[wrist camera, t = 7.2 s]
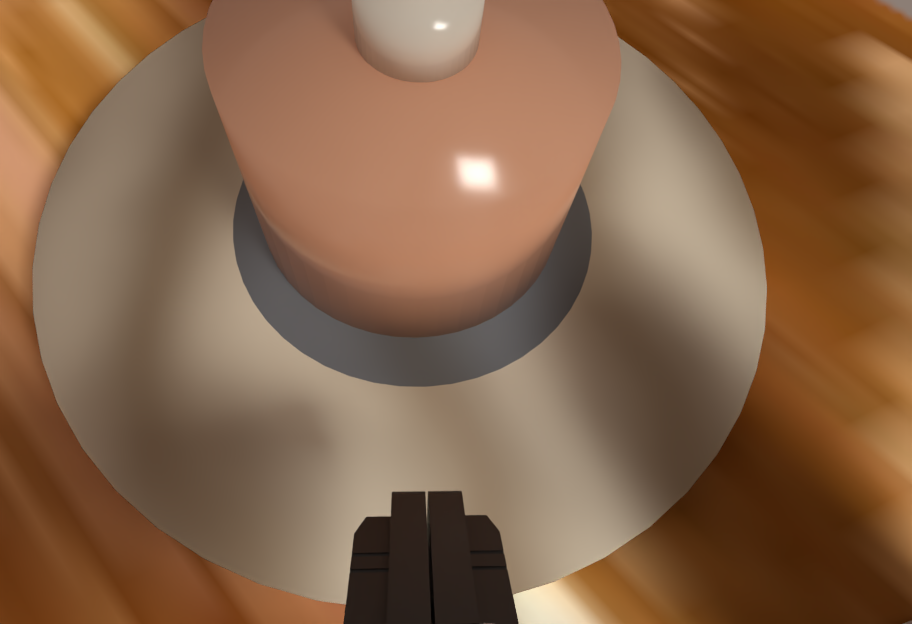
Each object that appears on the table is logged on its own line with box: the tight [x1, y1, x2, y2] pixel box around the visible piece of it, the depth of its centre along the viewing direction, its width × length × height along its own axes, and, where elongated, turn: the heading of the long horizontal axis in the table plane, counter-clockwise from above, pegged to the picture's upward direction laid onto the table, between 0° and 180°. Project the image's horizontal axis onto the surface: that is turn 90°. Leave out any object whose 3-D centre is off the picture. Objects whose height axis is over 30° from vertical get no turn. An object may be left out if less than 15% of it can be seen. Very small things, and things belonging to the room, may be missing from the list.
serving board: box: [33, 18, 767, 604], centre depth 22 cm, size 24×24×2 cm
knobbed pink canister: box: [202, 0, 621, 338], centre depth 18 cm, size 10×10×9 cm
